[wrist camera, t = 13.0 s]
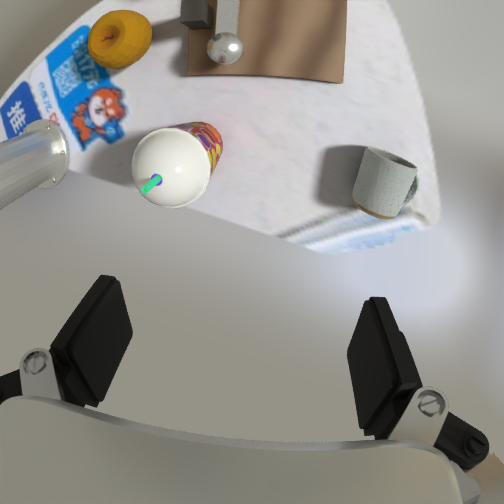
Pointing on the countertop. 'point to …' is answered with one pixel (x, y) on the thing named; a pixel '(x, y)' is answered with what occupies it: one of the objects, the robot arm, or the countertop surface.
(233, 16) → the lever
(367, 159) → the ceramic mug
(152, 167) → the smoothie
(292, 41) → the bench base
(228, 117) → the countertop surface
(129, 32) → the apple
